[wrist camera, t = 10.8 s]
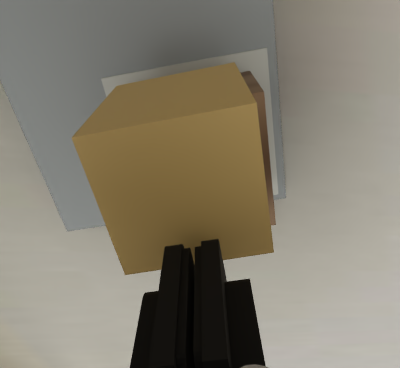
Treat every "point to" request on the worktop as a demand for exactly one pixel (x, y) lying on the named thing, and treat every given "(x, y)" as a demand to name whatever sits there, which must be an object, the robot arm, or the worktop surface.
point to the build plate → (121, 71)
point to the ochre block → (178, 166)
